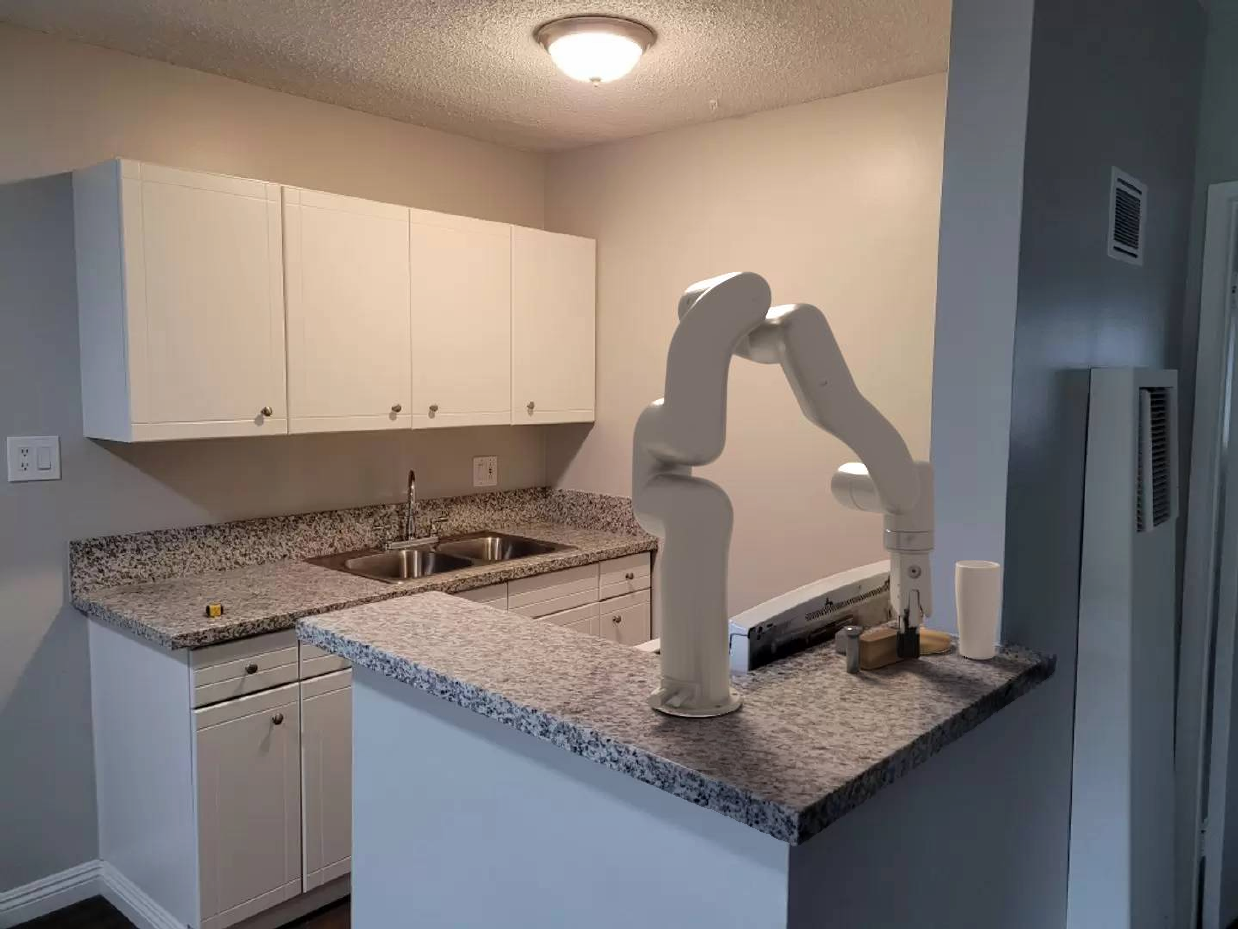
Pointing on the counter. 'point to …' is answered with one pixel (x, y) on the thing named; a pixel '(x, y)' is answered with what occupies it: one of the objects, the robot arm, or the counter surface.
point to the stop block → (840, 641)
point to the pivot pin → (853, 648)
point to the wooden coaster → (933, 641)
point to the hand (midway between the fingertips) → (908, 657)
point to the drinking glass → (977, 607)
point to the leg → (879, 648)
